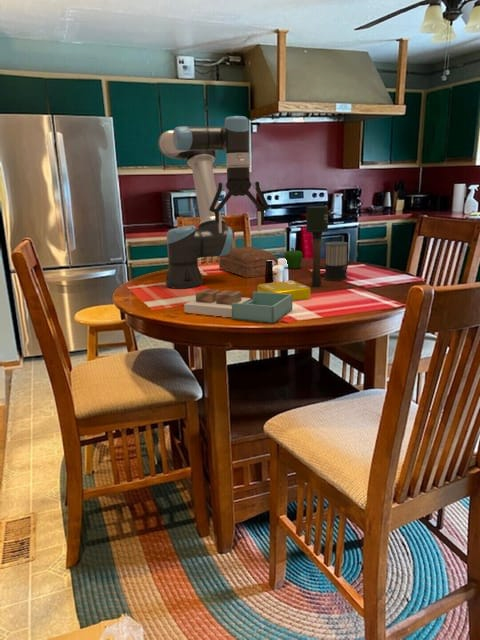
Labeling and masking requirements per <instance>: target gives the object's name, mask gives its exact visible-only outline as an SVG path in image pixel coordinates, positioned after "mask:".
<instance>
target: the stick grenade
mask: <svg viewBox="0 0 480 640" xmlns="http://www.w3.org/2000/svg"><path fill="white" fill-rule="evenodd" d="M305 232H306V233H311V235H312V251H313V253H312V254H313V257H312V258H313V260H312V261H313V264H312V265H313V266H312V268H313V269H312V270H313V275H312V274H311V275H312V277H311V286H312V287H313V288H314V287H316V288H317V287H319V288H320V287H322V286H321V285H322V276H321V270H320V267H321V249H322V239H323V238H322V235H323V233H327V232H330V229H329V206H326V205H318V206H317V205H316V206H307V207H306V229H305Z"/></svg>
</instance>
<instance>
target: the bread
mask: <svg viewBox="0 0 480 640" xmlns="http://www.w3.org/2000/svg"><path fill="white" fill-rule="evenodd" d="M266 260H274V261H276V262H277V258H276V256H275V255H274V254H273V253H272V252H269V251H267V250H264V249H261V248H257V247H253V246H240V247H239V246H238V247H232V249H231V251H230V253H229V254H228V255H224V256H219V263H218V267H219V269H220V268H222V269H224V270H227V271H226V272H228V271H229V273H231V272H232V274H234V273H235V274H234V275H237V274H239V275H238V276H241V275H242V277H244V278H246V277H247V279H248V277H251V278H257V277H258V276H259V277H265V276H264V275H265V263H266ZM224 270H223V271H224Z"/></svg>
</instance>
